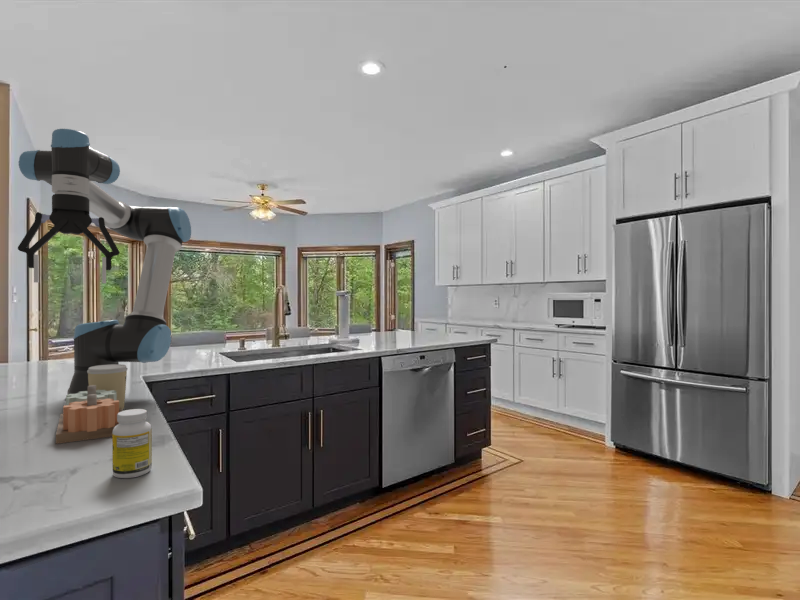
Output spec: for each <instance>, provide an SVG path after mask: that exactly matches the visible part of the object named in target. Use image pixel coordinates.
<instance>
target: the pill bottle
mask: <svg viewBox="0 0 800 600" xmlns="http://www.w3.org/2000/svg"><path fill="white" fill-rule="evenodd" d="M147 417H148V412H147V410H146V409H143V408H133V409H132V408H131V409H126V410H125V409H124V410H122V412H119V413H118V414H117V422H119V424H118V425H117V426H115V427H114V429H113V432H112V436H111V437H112V438H111V439H112V446H111V447H112V449H111V450H112V455H111V457H112V475H113V476H114V477H115V478H118V479H133V478H137V477H141V476H144V475H146V474H148V473H149V472H150V471H151V470H152V464H153V463H152V462H153V461H152V460H153V454H152V453H153V451H152V442H153V441H152V439H153V438H152V437H153V436H152V433H153V432H152V429H153V428H152V424H151V423H149V422H148V421H146V420H147Z"/></svg>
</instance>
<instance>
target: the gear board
mask: <svg viewBox="0 0 800 600" xmlns="http://www.w3.org/2000/svg"><path fill="white" fill-rule="evenodd" d="M92 405H97V394H96V385H91V386H88V395H87V406H92ZM122 411H123V410H122V408H119V412H122ZM118 424H119V423H116V424H115V426H117V425H118ZM115 426H114V427H115ZM114 427H111V428H102V429H97V431H91V432H87V431H78V432H68V429H67V430H63V413H60V415H59V419H58V424H57V428H56V433H55V445H56V444H57V445H58V444H66V443H73V442H80V441H88V440H96V439H103V438H110V437H112V432H113V429H114Z"/></svg>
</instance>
